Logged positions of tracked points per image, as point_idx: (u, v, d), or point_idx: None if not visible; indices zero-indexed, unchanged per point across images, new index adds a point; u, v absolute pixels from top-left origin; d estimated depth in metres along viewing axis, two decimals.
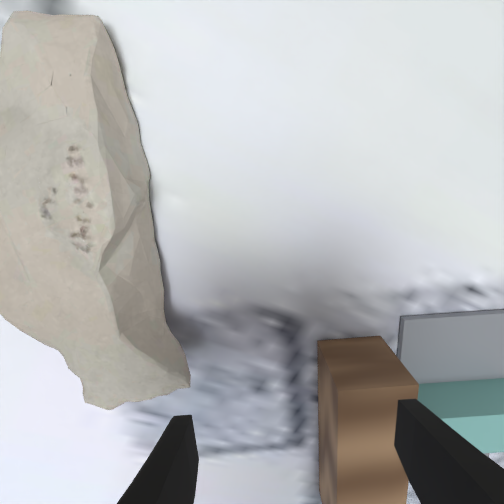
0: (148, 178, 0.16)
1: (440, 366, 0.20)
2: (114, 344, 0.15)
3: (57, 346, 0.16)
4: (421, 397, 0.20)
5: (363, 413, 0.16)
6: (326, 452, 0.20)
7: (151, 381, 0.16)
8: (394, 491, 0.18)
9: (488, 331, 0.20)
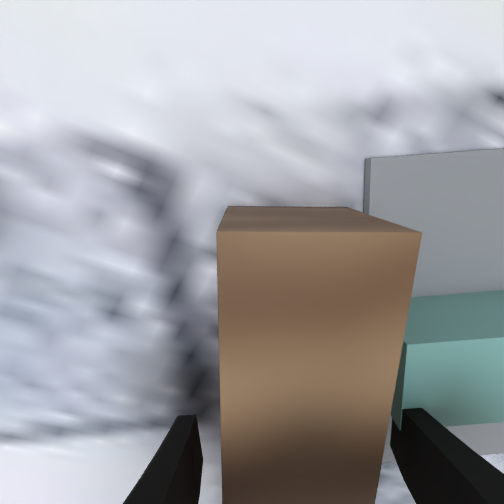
0: None
1: (443, 261, 0.11)
2: None
3: None
4: None
5: (282, 306, 0.07)
6: None
7: None
8: None
9: None
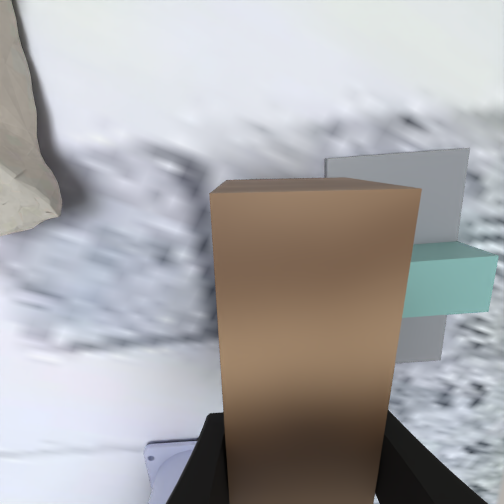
0: None
1: None
2: None
3: None
4: None
5: (279, 269, 0.07)
6: None
7: None
8: (350, 470, 0.08)
9: (431, 175, 0.16)
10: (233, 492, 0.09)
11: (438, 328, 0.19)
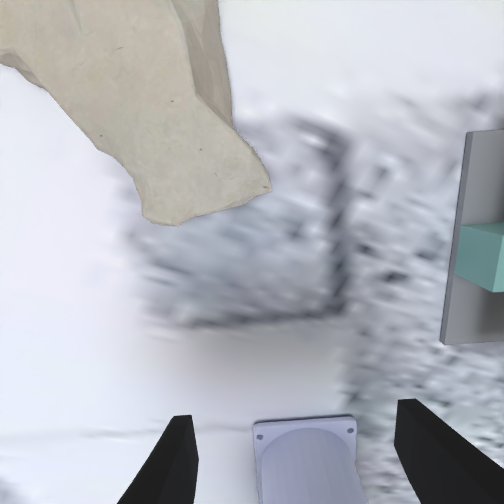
0: None
1: None
2: (188, 108, 0.12)
3: (113, 134, 0.13)
4: (493, 227, 0.16)
5: None
6: None
7: (230, 172, 0.13)
8: None
9: None
10: None
11: None
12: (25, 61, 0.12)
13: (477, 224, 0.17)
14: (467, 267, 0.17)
